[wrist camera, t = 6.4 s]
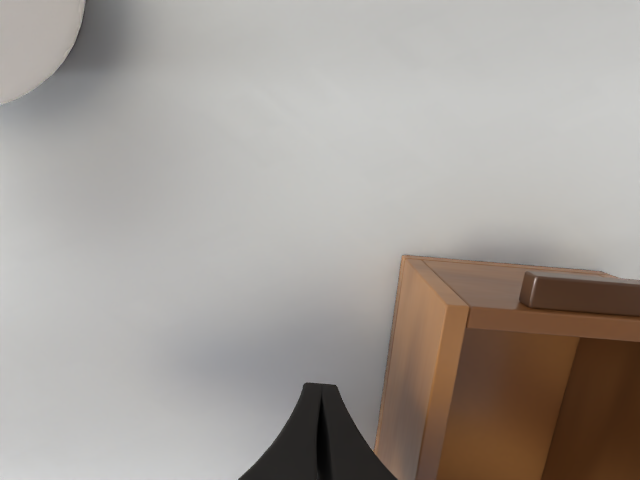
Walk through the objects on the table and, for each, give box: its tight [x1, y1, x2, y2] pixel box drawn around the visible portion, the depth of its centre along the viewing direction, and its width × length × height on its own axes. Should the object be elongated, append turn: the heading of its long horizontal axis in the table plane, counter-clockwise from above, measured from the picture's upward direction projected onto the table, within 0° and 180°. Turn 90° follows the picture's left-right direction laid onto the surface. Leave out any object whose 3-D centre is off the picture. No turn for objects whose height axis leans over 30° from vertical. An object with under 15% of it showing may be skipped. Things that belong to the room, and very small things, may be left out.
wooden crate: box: [374, 255, 640, 480], centre depth 14 cm, size 14×9×6 cm, turn 175°
